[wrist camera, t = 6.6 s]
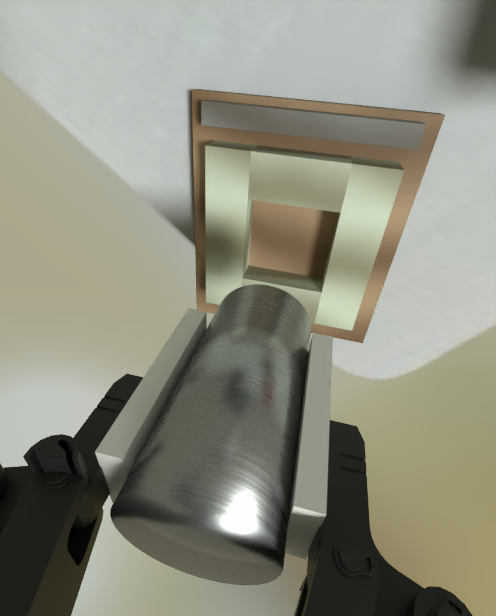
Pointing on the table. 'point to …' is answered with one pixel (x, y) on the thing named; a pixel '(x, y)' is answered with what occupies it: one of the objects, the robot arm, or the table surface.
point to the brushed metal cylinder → (225, 446)
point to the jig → (304, 200)
